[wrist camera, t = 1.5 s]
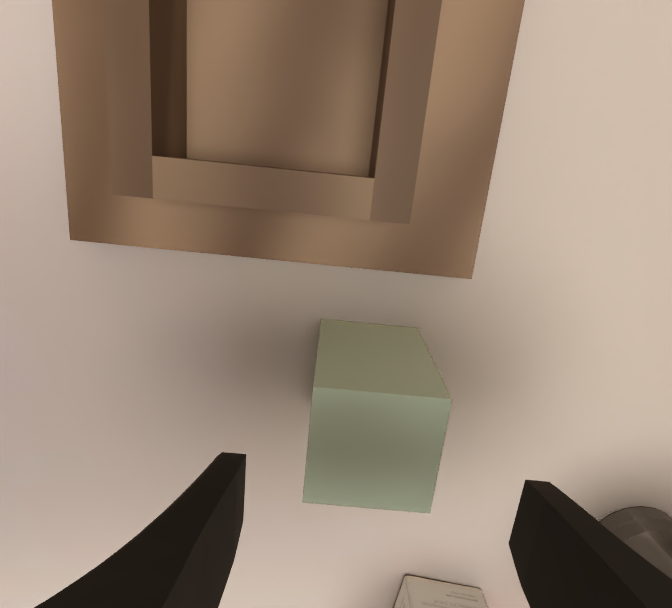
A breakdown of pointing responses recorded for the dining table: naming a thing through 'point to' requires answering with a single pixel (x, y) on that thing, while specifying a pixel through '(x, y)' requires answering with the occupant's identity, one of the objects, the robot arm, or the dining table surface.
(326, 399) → the block
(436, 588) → the skincare box
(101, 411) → the dining table surface
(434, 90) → the well stand
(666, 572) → the beverage cup
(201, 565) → the robot arm
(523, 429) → the dining table surface
